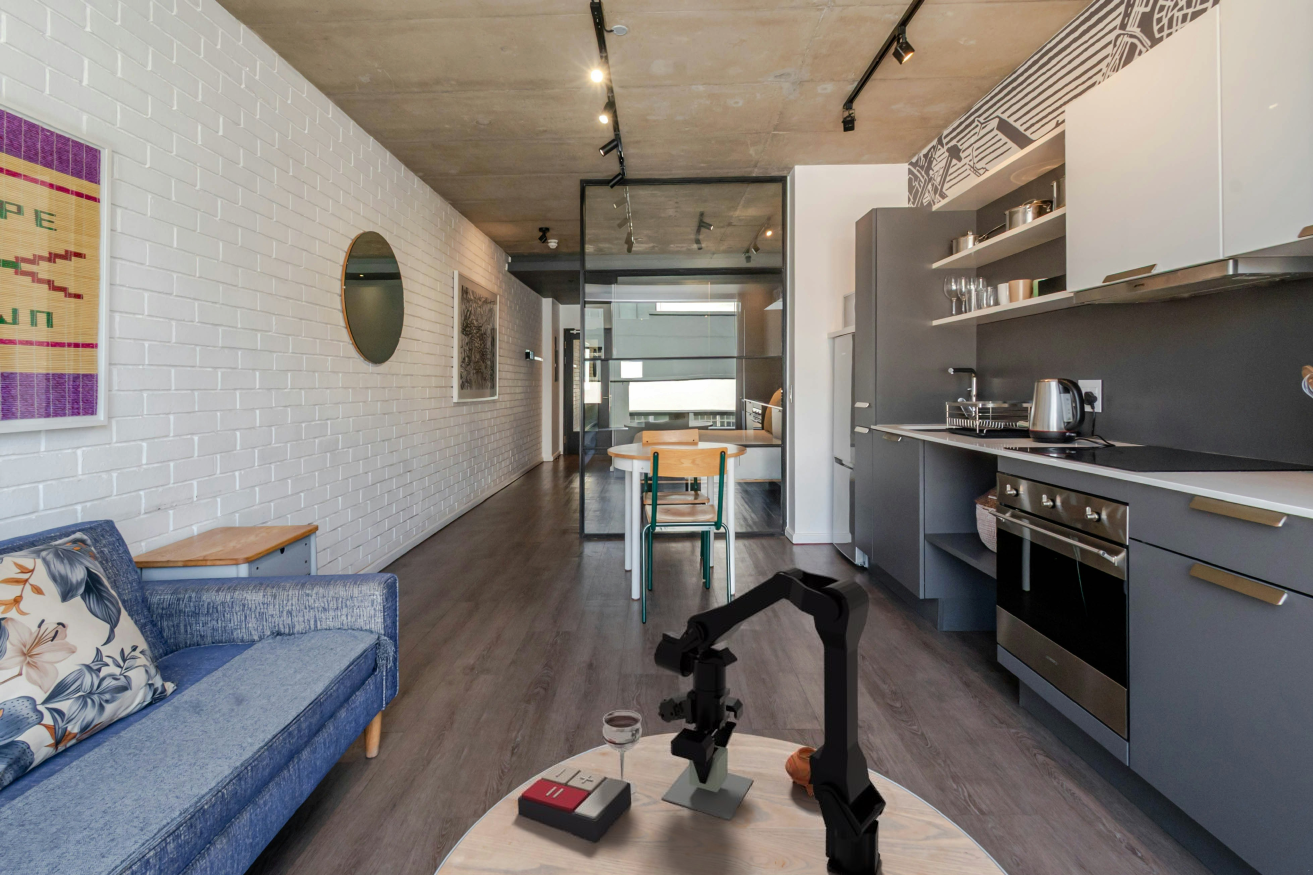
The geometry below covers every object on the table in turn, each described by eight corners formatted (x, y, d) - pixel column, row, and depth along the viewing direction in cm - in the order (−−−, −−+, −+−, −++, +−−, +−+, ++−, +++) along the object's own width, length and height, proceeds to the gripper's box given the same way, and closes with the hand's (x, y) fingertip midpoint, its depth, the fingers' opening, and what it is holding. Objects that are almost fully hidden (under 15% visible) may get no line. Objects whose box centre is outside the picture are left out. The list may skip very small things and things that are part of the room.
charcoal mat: (753, 780, 107) (753, 779, 107) (729, 820, 96) (729, 819, 96) (690, 763, 113) (690, 762, 113) (661, 799, 102) (661, 797, 102)
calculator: (557, 759, 108) (631, 778, 101) (558, 784, 108) (632, 804, 101) (516, 793, 98) (595, 816, 91) (517, 820, 98) (596, 845, 91)
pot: (841, 799, 101) (831, 760, 101) (794, 807, 102) (785, 769, 102) (831, 770, 109) (823, 734, 109) (788, 778, 110) (779, 742, 110)
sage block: (727, 776, 106) (727, 748, 105) (717, 792, 101) (717, 762, 101) (700, 769, 108) (700, 741, 108) (689, 784, 103) (689, 755, 103)
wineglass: (641, 800, 102) (641, 728, 101) (600, 799, 102) (600, 728, 101) (642, 776, 108) (642, 709, 108) (604, 776, 108) (604, 709, 108)
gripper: (688, 657, 116) (687, 738, 116) (641, 696, 99) (641, 791, 100) (744, 668, 111) (743, 752, 111) (705, 711, 94) (704, 810, 95)
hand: (708, 774), depth 104 cm, fingers closed on sage block, 5 cm apart
